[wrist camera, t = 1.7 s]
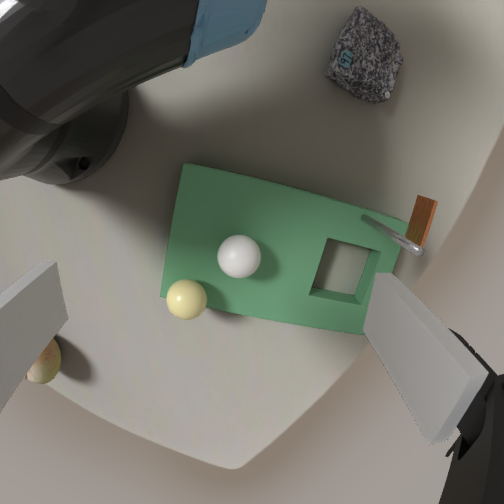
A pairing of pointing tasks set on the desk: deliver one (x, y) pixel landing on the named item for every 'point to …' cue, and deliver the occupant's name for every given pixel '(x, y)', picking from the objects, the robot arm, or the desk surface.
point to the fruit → (46, 364)
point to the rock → (365, 58)
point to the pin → (410, 226)
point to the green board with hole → (272, 248)
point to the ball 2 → (239, 256)
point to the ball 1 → (186, 299)
